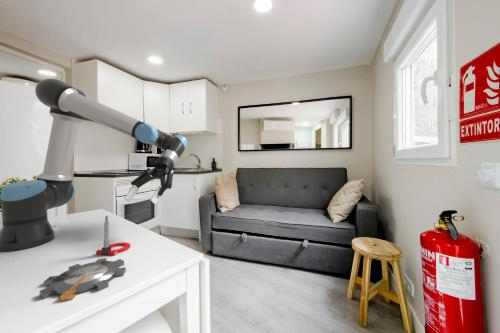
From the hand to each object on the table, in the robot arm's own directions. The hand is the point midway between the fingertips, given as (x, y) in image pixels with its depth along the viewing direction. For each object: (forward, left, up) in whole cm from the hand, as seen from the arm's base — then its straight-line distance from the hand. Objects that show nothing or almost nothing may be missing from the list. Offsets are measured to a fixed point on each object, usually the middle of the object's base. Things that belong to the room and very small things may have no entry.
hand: (139, 201), depth 81 cm
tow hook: (+1, -10, -15) cm, 18 cm away
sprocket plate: (+14, -23, -15) cm, 31 cm away
